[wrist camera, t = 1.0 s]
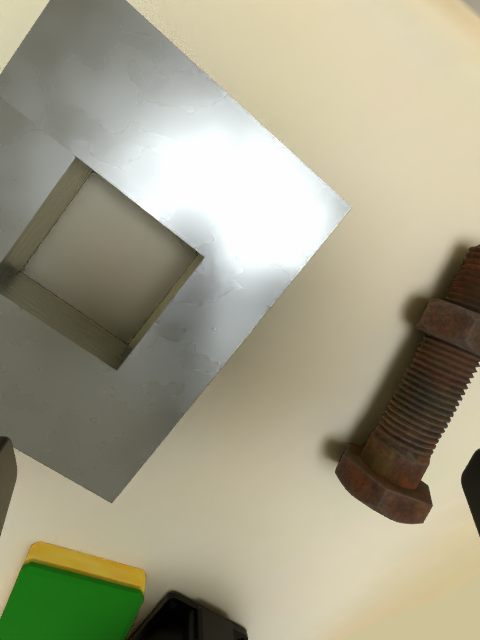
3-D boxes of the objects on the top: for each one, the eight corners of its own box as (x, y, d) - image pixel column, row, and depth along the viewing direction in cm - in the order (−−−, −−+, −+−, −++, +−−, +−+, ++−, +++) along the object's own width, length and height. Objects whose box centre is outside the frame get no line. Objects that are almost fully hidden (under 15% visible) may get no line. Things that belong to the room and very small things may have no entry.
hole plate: (122, 458, 25) (111, 503, 21) (-113, 315, 22) (-177, 338, 18) (323, 208, 23) (351, 207, 19) (99, 7, 20) (78, -43, 16)
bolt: (467, 254, 27) (359, 463, 29) (433, 224, 24) (314, 462, 26) (574, 283, 23) (438, 525, 25) (551, 251, 19) (396, 534, 21)
